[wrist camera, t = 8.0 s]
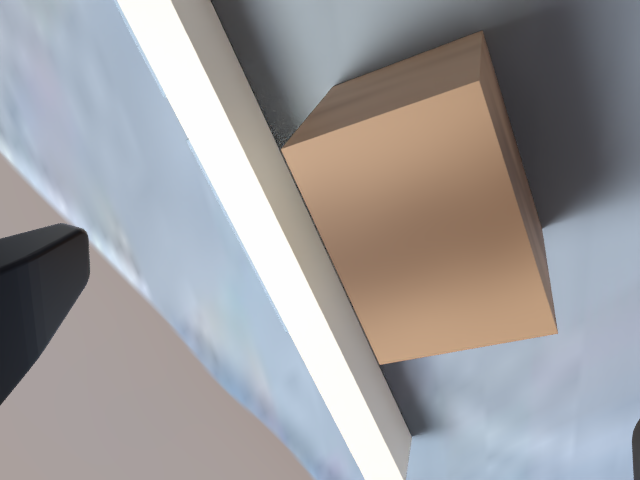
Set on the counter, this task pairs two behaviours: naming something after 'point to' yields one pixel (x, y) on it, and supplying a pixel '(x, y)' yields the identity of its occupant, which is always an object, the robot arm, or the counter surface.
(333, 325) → the rail
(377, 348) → the tea box
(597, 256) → the counter surface
